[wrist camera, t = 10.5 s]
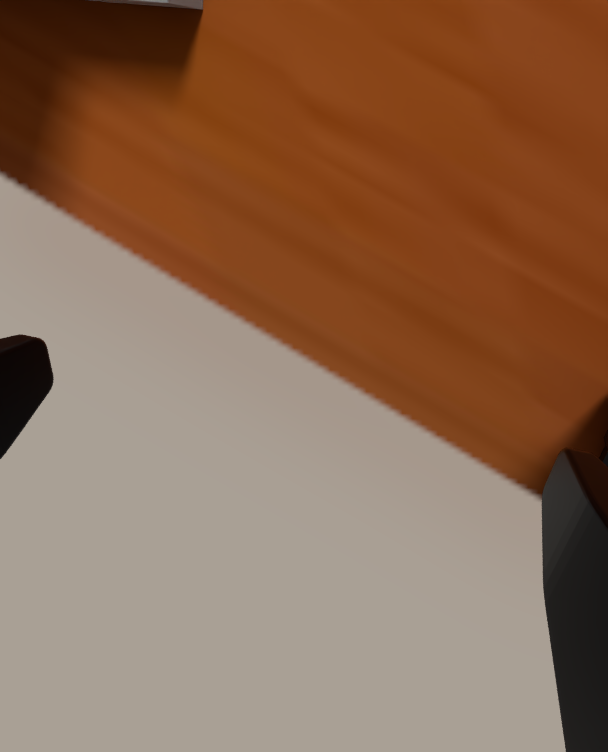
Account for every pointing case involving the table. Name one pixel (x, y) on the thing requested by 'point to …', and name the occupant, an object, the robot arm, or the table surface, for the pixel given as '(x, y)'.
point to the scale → (162, 3)
